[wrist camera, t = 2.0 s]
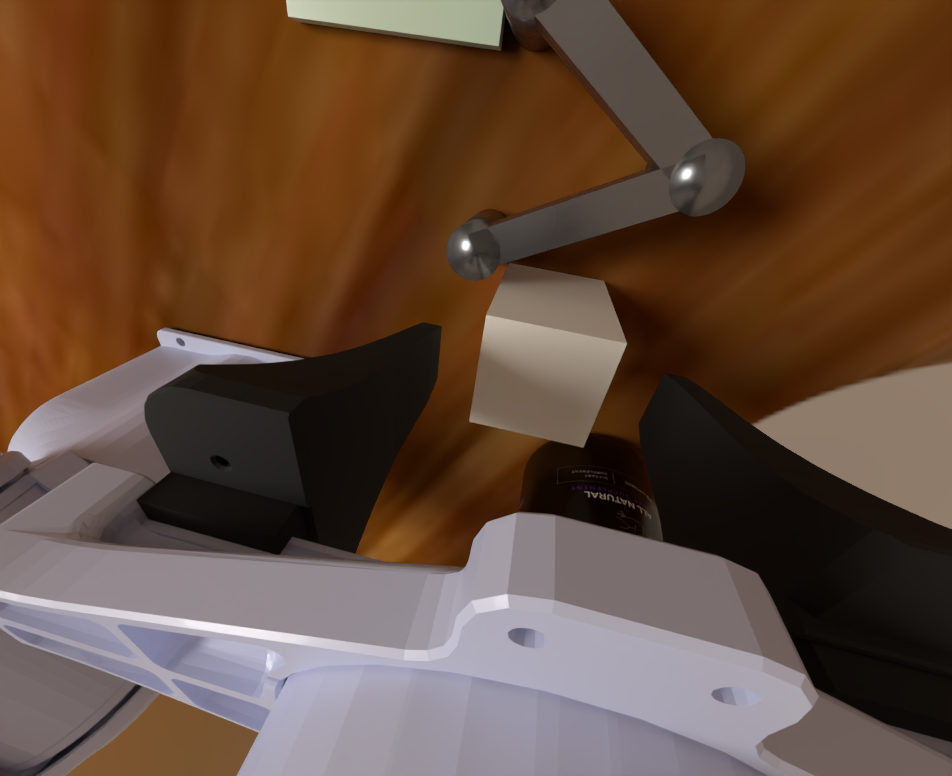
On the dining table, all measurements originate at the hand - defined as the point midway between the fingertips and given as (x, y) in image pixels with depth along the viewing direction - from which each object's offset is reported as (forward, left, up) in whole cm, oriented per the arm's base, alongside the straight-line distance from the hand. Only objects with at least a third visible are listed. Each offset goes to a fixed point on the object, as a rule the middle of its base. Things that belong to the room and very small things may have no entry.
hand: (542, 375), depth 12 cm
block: (0, 0, -5) cm, 5 cm away
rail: (0, +6, -5) cm, 8 cm away
